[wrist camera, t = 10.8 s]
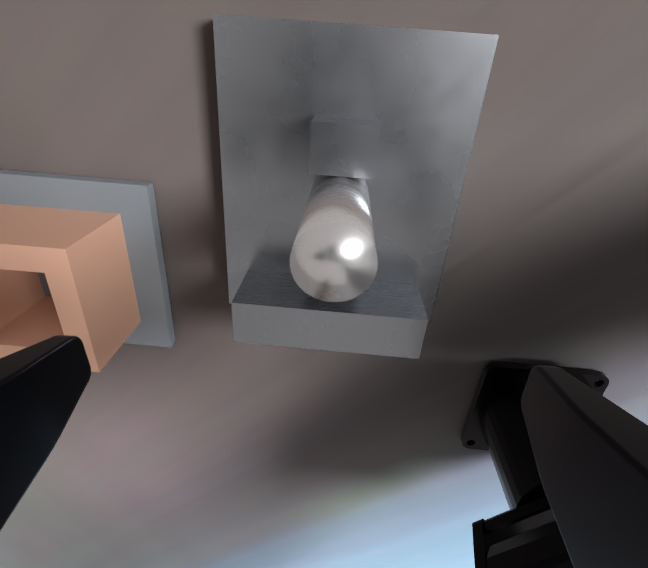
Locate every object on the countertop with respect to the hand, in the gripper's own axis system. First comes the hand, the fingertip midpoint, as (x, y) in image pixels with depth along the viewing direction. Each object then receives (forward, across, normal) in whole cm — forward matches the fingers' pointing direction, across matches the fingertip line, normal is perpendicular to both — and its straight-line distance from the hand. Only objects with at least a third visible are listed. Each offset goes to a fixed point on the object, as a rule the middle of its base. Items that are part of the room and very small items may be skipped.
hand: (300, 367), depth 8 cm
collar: (+11, +13, +4) cm, 17 cm away
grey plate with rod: (+11, 0, -1) cm, 11 cm away
